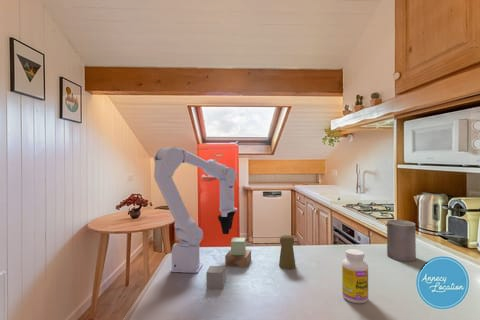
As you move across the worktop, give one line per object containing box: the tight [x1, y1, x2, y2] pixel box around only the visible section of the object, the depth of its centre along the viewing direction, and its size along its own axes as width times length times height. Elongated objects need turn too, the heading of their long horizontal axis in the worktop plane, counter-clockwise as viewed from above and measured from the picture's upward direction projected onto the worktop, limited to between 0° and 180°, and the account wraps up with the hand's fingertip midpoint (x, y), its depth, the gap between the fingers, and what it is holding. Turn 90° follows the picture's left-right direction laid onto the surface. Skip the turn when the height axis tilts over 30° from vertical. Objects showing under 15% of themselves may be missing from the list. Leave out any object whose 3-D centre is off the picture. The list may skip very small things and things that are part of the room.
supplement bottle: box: [341, 248, 369, 304], centre depth 75 cm, size 7×7×13 cm
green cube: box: [230, 237, 247, 255], centre depth 102 cm, size 5×5×5 cm
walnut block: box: [224, 249, 252, 269], centre depth 103 cm, size 8×8×4 cm
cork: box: [278, 234, 297, 270], centre depth 99 cm, size 6×6×11 cm
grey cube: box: [205, 265, 226, 290], centre depth 84 cm, size 5×5×5 cm
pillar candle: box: [386, 218, 417, 263], centre depth 106 cm, size 10×10×15 cm
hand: (227, 231), depth 108 cm, fingers open, 7 cm apart
